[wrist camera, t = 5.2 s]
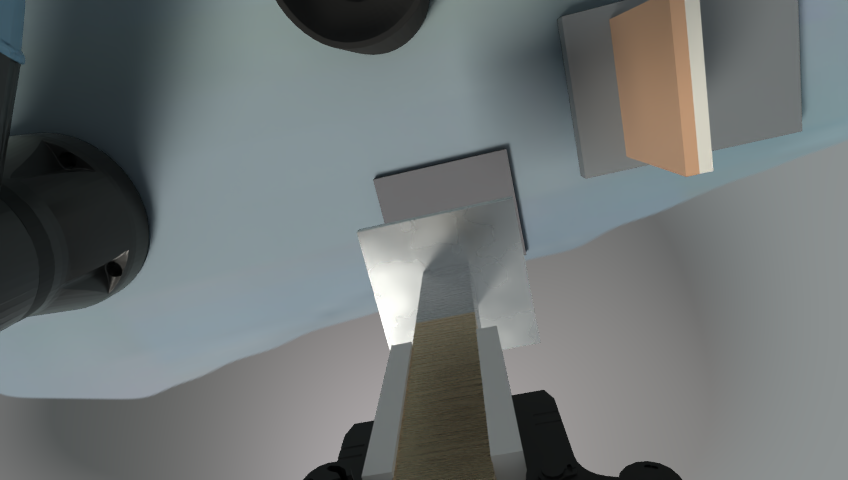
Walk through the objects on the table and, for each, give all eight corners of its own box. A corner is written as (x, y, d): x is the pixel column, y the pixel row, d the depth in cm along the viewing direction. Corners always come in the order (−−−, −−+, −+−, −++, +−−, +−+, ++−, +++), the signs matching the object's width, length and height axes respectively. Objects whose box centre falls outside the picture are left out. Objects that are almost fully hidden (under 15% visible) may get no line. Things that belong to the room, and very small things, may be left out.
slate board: (580, 175, 40) (585, 178, 39) (557, 19, 37) (561, 16, 36) (788, 129, 38) (802, 131, 37) (782, -39, 35) (796, -44, 34)
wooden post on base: (396, 364, 28) (314, 777, 11) (358, 229, 26) (186, 482, 9) (538, 337, 27) (689, 742, 10) (511, 196, 25) (644, 406, 8)
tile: (626, 156, 38) (686, 176, 28) (609, 19, 35) (668, -10, 26) (646, 152, 38) (713, 170, 28) (630, 14, 35) (698, -17, 26)
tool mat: (400, 278, 43) (399, 280, 43) (374, 178, 41) (373, 179, 41) (525, 252, 42) (526, 254, 42) (505, 148, 40) (506, 149, 39)
